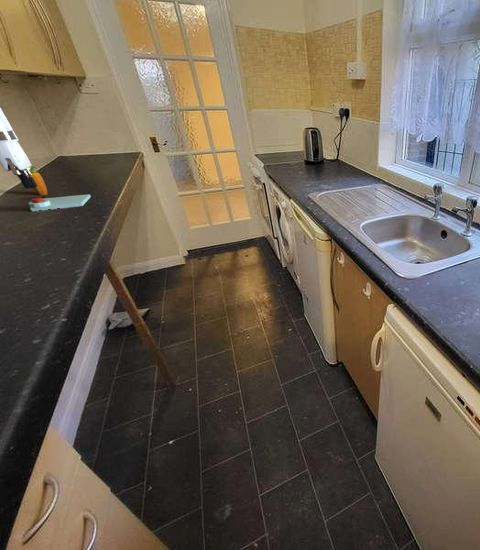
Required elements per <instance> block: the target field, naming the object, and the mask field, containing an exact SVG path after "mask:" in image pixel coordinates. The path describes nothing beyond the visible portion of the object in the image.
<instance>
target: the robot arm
mask: <svg viewBox="0 0 480 550" xmlns="http://www.w3.org/2000/svg"><path fill="white" fill-rule="evenodd" d="M31 164H32V163H31V161H30V159H29V157H28V155H27V153H26V152H25V151H24V149H23V148H22V146H21V144H20V143H19V138H18V136H17V134H16V133H15V131H14V129H13V127H12V126H11V123H10V122H9V120H8V118H7V117H6V115H5V113H4V112H3V110H2V108H1V107H0V165H1V168H2V169H3V170H4V171H5V172H10V171H11V172H12V174H13V175H14V176H16V177H17V178H18V179H19V180H20V182H21V184H22V186H23V187H24V189H26V190H28V189H33V188H36V187H37V184H36V183H35V181H34V179H33V177H31V176H32V175H31V173H30V171H29V170H30V166H31Z"/></svg>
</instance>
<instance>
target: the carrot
mask: <svg viewBox="0 0 480 550" xmlns="http://www.w3.org/2000/svg"><path fill="white" fill-rule="evenodd" d="M29 168H30V170H29V171H30V173H31V175H32V176H31V177H33V179H34V181H35V183H36V184H37V187H36V188H32V189H33V190H34V191H35V193H36V194H38V196H41V197H40V198H42V199H44V198H48V189H47V186H46V183H45V180H44V179H43V177H42V175H41V173H39V172H37V171H34V170H35V169H34V168H36V166H35V165H33V164H32V163H31V166H30V167H29Z"/></svg>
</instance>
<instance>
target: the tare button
mask: <svg viewBox="0 0 480 550" xmlns="http://www.w3.org/2000/svg"><path fill="white" fill-rule="evenodd" d="M43 199H44V198H43V197H34V198H32V199H31V201H33V203H40V202H44V201H43Z"/></svg>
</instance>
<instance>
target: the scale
mask: <svg viewBox="0 0 480 550" xmlns="http://www.w3.org/2000/svg"><path fill="white" fill-rule="evenodd" d="M91 197H92V196H91V194H79V195H67V196H55V197H47V198H42V199H43V201H44V202H40V203H33V201H32V200H31V201H29V202H27V204H28V206H29V207H30V208H29V209H30V211H31V212H40V211H39V210H42V211H49V210H48V209H51V210H57V208H60V209H69V208H77V207H83V206H84V205H85V204H86V203H87V202H88V201H89V199H91Z"/></svg>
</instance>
